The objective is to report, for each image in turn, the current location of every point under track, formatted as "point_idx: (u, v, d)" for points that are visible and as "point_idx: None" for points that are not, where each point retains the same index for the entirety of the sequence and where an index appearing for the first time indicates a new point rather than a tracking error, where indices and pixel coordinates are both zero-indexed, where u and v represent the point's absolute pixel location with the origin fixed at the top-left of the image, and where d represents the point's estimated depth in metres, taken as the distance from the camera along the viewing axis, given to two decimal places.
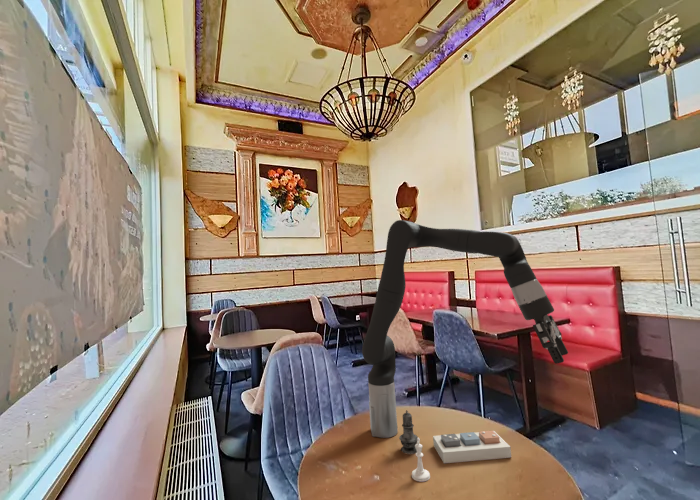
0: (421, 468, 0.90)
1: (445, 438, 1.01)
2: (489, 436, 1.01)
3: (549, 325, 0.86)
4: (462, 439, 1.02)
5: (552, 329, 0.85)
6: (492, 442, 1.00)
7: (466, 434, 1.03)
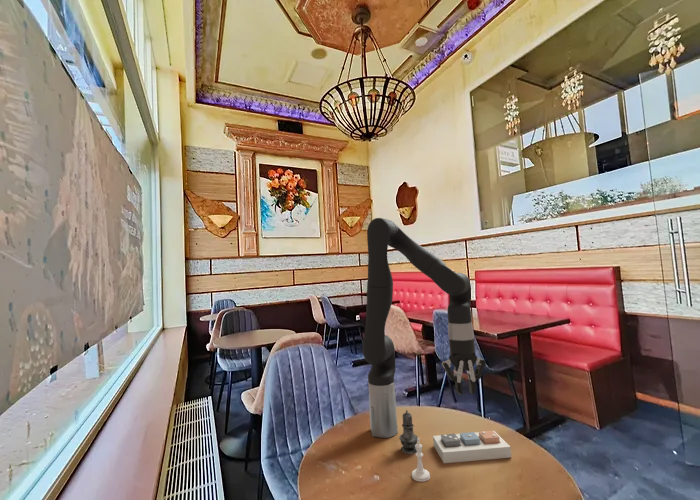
0: (421, 468, 0.90)
1: (445, 438, 1.01)
2: (489, 436, 1.01)
3: (458, 364, 1.02)
4: (462, 439, 1.02)
5: (459, 368, 1.02)
6: (492, 442, 1.00)
7: (466, 434, 1.03)
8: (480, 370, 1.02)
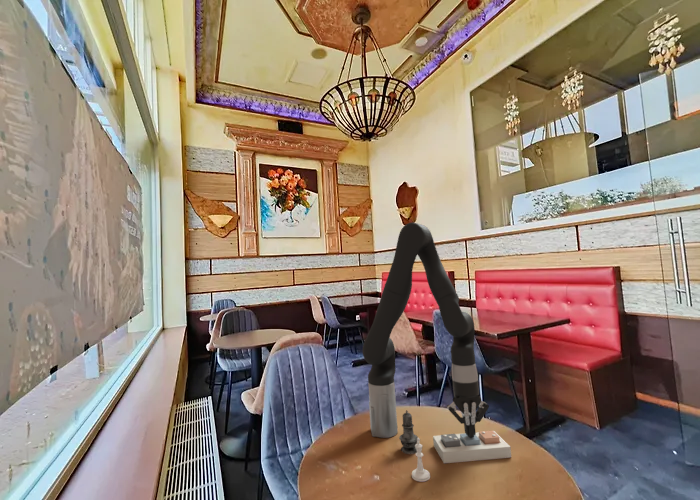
0: (421, 468, 0.90)
1: (445, 438, 1.01)
2: (489, 436, 1.01)
3: (463, 406, 1.01)
4: (462, 440, 1.02)
5: (465, 410, 1.01)
6: (492, 442, 1.00)
7: (466, 435, 1.03)
8: (481, 413, 1.01)
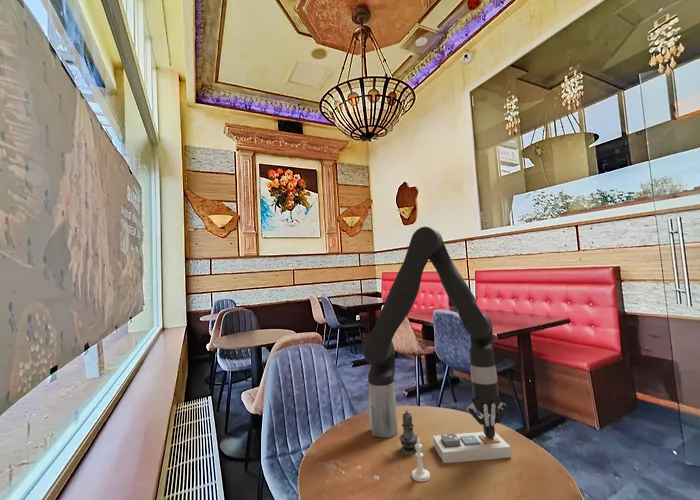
0: (421, 468, 0.90)
1: (445, 438, 1.01)
2: (489, 439, 1.01)
3: (483, 408, 1.01)
4: None
5: (485, 411, 1.01)
6: None
7: (466, 437, 1.03)
8: (501, 414, 1.02)
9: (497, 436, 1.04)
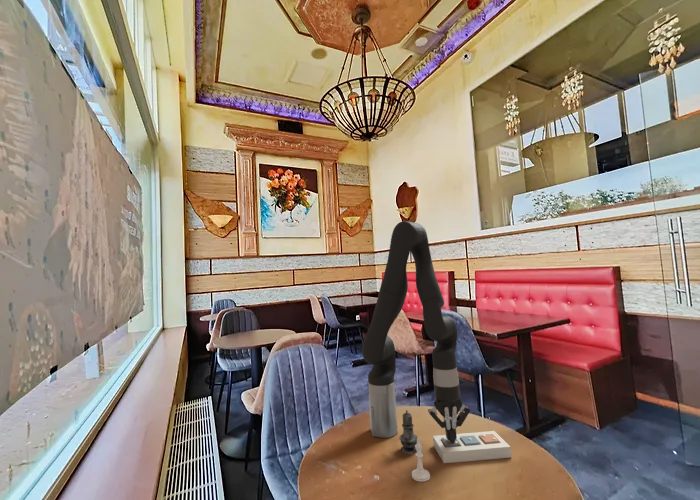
0: (421, 468, 0.90)
1: (445, 441, 1.01)
2: (489, 439, 1.01)
3: (444, 411, 1.01)
4: None
5: (446, 415, 1.00)
6: None
7: (466, 437, 1.03)
8: (462, 418, 1.01)
9: (497, 436, 1.04)
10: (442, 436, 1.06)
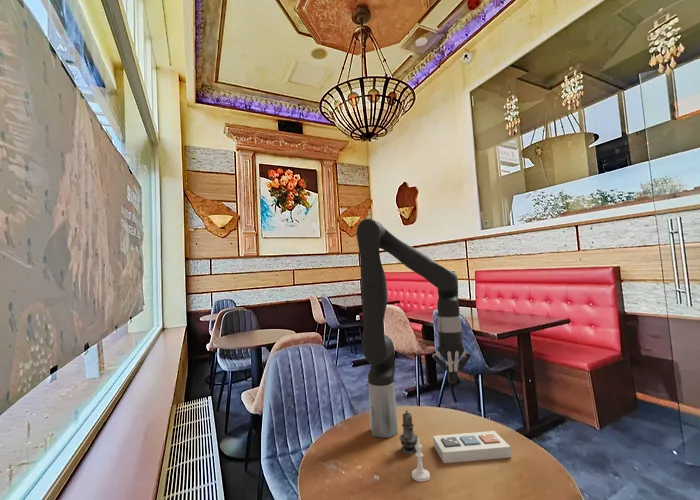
0: (421, 468, 0.90)
1: (445, 441, 1.01)
2: (489, 439, 1.01)
3: (447, 355, 1.09)
4: None
5: (449, 358, 1.09)
6: None
7: (466, 437, 1.03)
8: (464, 362, 1.10)
9: (497, 436, 1.04)
10: (442, 436, 1.06)
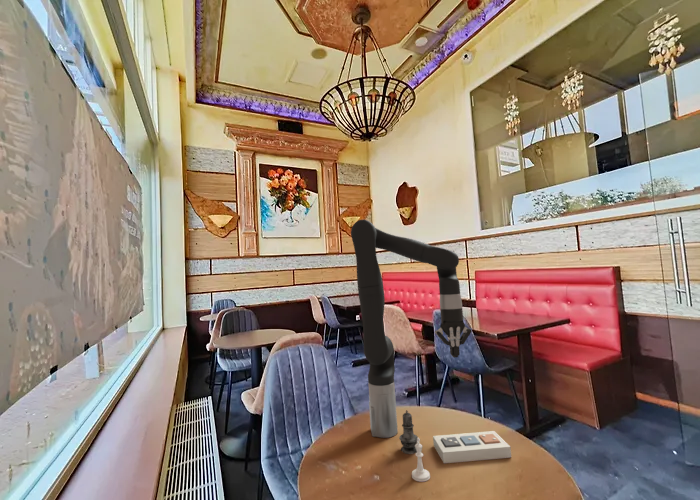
0: (421, 468, 0.90)
1: (445, 441, 1.01)
2: (489, 439, 1.01)
3: (449, 330, 1.16)
4: None
5: (451, 334, 1.15)
6: None
7: (466, 437, 1.03)
8: (465, 337, 1.16)
9: (497, 436, 1.04)
10: (442, 436, 1.06)
